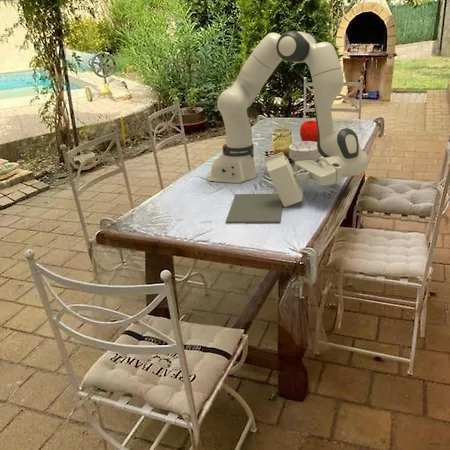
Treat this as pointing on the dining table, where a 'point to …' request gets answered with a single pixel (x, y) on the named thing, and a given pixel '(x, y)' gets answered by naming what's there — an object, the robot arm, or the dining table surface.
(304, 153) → the paper bowls
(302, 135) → the apple
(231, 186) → the dining table surface
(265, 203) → the mat
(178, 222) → the dining table surface
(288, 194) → the milk carton
